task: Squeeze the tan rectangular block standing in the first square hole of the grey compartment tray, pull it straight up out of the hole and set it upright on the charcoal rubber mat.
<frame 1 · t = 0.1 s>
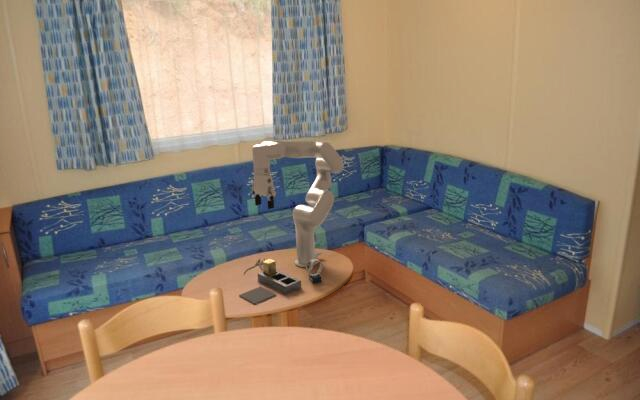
hand: (264, 206, 227), 37 cm above the table, tool pointing down, fingers open, 9 cm apart
grey compartment tray: (279, 284, 228), on the table
tan rectangular block: (270, 280, 233), resting in grey compartment tray
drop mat: (257, 295, 218), on the table
watch: (315, 281, 230), on the table
pliers: (254, 268, 249), on the table
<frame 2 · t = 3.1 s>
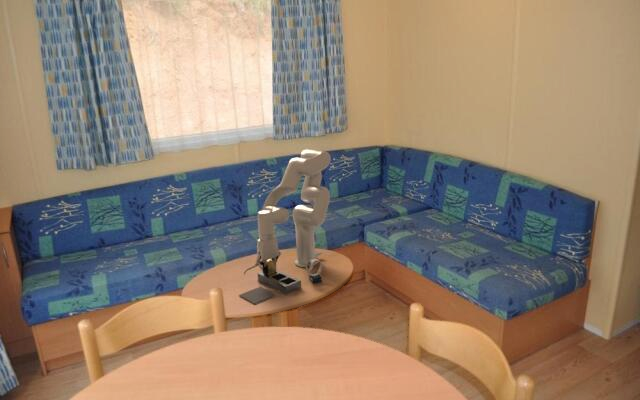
hand: (269, 271, 232), 5 cm above the table, tool pointing down, fingers closed on tan rectangular block, 4 cm apart
tan rectangular block: (270, 280, 233), resting in grey compartment tray, touching gripper
everything else where it was.
when the fingers open (7 cm above the table, at t = 10.1 s): tan rectangular block drops 1 cm, resting on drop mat.
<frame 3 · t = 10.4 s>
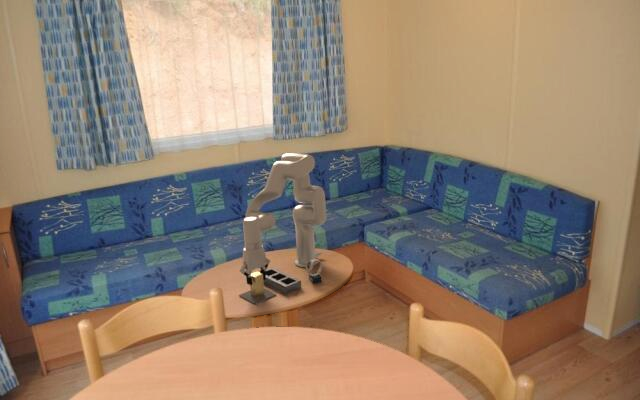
hand: (256, 281, 216), 7 cm above the table, tool pointing down, fingers open, 6 cm apart
tan rectangular block: (257, 294, 218), point 1 cm above the table, touching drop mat
everything else where it was.
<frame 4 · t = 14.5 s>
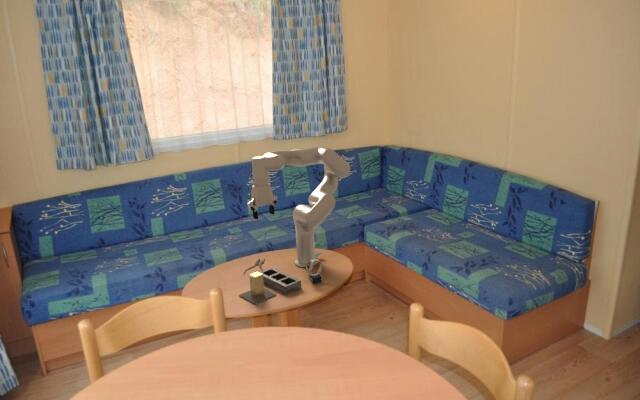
hand: (264, 216, 232), 30 cm above the table, tool pointing down, fingers open, 9 cm apart
nothing on the table moved.
at the end: tan rectangular block inside the target area on the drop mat (0.1 cm from its centre), point 0.6 cm above the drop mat's base; tan rectangular block tilted 0°; the gripper is holding nothing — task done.
